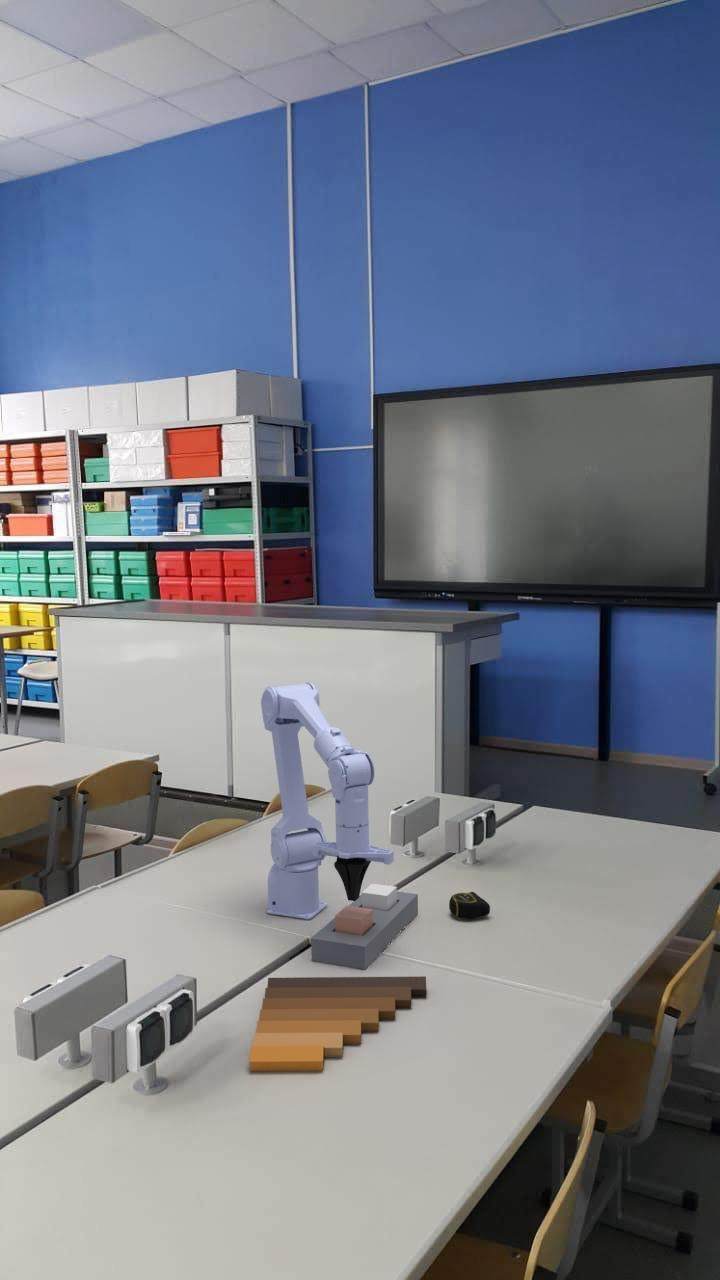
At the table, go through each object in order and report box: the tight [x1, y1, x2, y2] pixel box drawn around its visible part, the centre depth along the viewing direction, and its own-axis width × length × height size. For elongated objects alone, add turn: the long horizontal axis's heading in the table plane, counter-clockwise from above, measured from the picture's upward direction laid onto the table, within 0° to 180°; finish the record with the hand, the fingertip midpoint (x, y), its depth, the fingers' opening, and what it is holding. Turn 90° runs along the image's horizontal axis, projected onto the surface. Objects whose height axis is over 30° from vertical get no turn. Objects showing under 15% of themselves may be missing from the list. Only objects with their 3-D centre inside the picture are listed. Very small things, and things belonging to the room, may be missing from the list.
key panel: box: [310, 891, 419, 970], centre depth 182 cm, size 10×26×4 cm, turn 157°
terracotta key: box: [334, 905, 373, 936], centre depth 176 cm, size 5×5×4 cm
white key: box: [361, 883, 398, 911], centre depth 187 cm, size 5×5×4 cm
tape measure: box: [448, 891, 491, 920], centre depth 191 cm, size 7×7×4 cm
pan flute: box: [249, 976, 427, 1072], centre depth 149 cm, size 25×3×25 cm
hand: (353, 898), depth 176 cm, fingers closed
